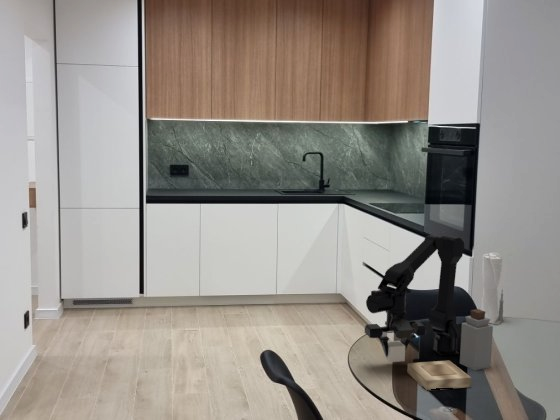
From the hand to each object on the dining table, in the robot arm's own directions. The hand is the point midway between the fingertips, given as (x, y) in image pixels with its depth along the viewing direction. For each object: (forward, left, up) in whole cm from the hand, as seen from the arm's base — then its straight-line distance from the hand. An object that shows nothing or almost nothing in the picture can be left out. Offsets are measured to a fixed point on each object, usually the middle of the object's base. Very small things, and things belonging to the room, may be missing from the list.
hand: (394, 355), depth 216 cm
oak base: (-9, +13, -3) cm, 16 cm away
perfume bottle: (-26, +4, -4) cm, 27 cm away
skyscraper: (-54, -37, -4) cm, 66 cm away
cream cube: (0, 0, -1) cm, 1 cm away
